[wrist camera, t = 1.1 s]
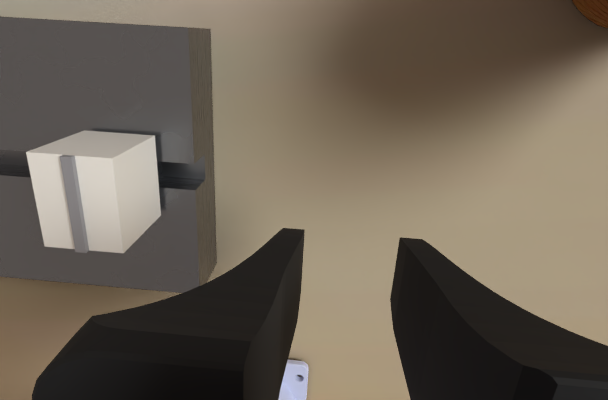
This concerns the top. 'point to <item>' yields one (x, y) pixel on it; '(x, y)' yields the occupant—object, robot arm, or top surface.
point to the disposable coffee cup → (594, 10)
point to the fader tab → (95, 190)
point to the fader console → (118, 119)
